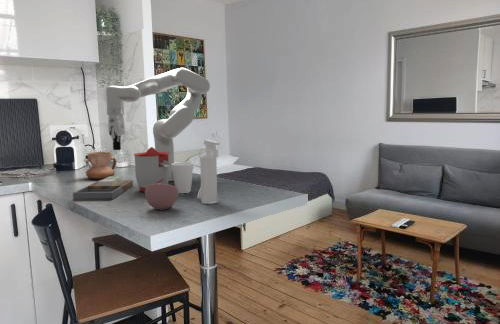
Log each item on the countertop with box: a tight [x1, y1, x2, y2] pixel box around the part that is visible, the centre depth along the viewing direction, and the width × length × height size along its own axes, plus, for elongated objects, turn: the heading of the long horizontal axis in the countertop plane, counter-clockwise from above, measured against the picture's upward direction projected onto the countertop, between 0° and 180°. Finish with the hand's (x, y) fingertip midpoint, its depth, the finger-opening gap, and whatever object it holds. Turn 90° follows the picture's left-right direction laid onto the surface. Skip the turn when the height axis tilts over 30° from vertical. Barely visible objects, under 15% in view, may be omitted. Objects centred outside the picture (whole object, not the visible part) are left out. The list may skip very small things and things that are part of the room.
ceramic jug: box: [83, 151, 117, 180], centre depth 204 cm, size 18×14×14 cm
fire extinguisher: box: [196, 139, 221, 202], centre depth 148 cm, size 7×12×25 cm, turn 46°
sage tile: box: [105, 175, 123, 183], centre depth 178 cm, size 6×6×2 cm
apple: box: [144, 178, 179, 210], centre depth 139 cm, size 12×12×11 cm
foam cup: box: [172, 161, 194, 194], centre depth 167 cm, size 10×9×13 cm
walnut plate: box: [86, 179, 134, 194], centre depth 175 cm, size 16×14×3 cm
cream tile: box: [98, 179, 117, 186], centre depth 171 cm, size 6×6×2 cm
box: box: [72, 186, 124, 201], centre depth 161 cm, size 16×14×3 cm
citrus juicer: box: [133, 146, 170, 193], centre depth 171 cm, size 16×17×20 cm
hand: (117, 149), depth 184 cm, fingers closed
